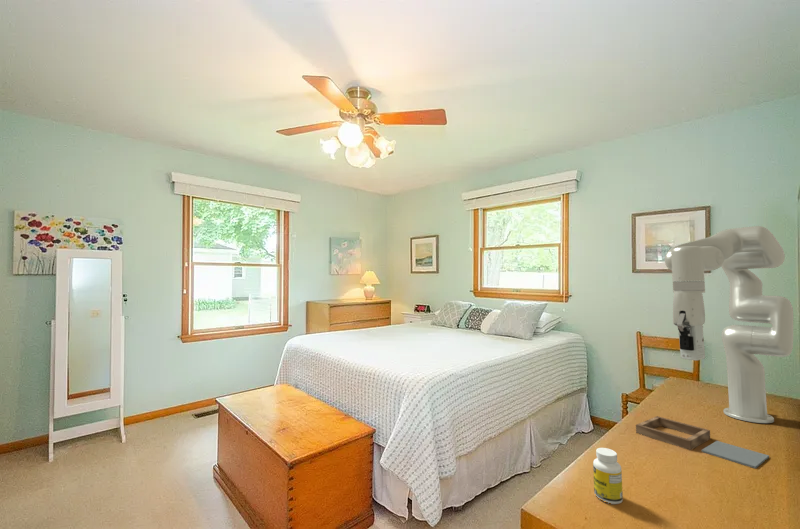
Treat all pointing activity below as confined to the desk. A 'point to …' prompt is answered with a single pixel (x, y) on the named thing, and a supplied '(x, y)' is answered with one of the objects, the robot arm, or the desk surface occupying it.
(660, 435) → the brown wooden frame
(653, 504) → the desk surface
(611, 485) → the supplement bottle
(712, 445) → the pad
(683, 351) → the skincare box
